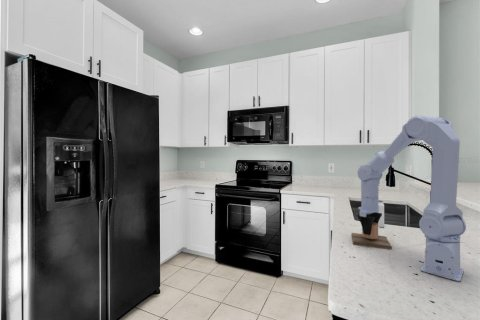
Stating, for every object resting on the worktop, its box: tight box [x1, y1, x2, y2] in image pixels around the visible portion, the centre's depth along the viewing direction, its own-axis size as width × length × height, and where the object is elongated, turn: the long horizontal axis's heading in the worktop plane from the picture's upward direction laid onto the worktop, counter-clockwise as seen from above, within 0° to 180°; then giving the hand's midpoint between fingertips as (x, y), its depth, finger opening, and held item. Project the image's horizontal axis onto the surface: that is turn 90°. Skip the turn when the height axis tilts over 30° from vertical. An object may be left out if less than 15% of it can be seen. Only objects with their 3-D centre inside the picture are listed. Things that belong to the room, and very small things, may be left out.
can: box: [377, 199, 385, 228], centre depth 109 cm, size 6×6×12 cm
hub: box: [361, 223, 379, 239], centre depth 87 cm, size 5×5×5 cm
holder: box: [351, 232, 393, 250], centre depth 87 cm, size 12×12×5 cm
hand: (369, 232), depth 87 cm, fingers closed on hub, 5 cm apart
